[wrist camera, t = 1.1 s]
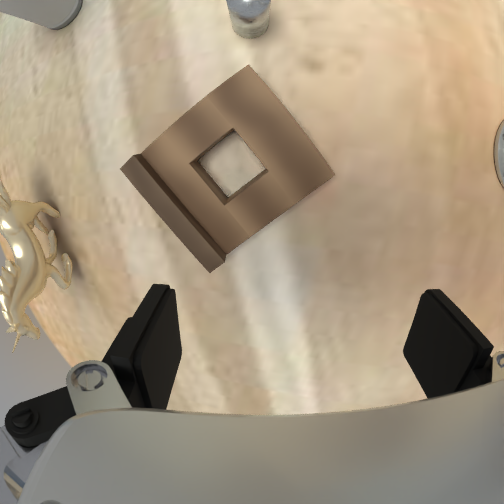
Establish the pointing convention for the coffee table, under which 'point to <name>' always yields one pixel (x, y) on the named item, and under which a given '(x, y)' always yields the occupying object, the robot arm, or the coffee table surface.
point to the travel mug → (43, 11)
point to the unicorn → (26, 261)
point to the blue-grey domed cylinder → (249, 17)
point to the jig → (203, 186)
